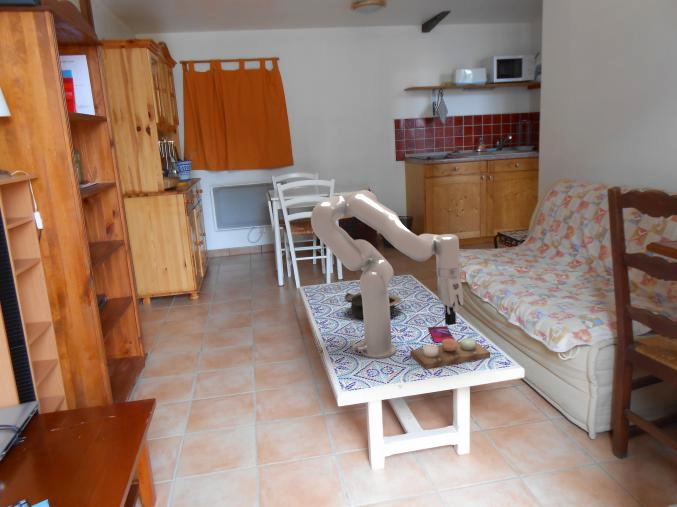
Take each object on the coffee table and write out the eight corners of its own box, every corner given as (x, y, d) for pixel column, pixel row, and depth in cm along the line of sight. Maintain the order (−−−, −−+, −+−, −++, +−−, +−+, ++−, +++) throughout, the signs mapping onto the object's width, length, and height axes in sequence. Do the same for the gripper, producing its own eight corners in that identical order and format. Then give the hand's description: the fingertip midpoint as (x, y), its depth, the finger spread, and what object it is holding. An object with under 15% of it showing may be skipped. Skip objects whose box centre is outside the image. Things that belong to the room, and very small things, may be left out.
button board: (424, 369, 166) (424, 363, 165) (410, 355, 177) (410, 350, 177) (490, 357, 172) (490, 351, 171) (472, 344, 183) (472, 339, 182)
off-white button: (427, 358, 169) (427, 351, 169) (421, 352, 174) (420, 346, 173) (440, 355, 170) (440, 349, 170) (434, 350, 175) (434, 343, 175)
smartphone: (433, 342, 187) (427, 327, 201) (434, 344, 187) (427, 329, 201) (455, 341, 186) (447, 325, 201) (455, 343, 186) (447, 328, 201)
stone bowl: (338, 321, 215) (337, 300, 214) (355, 306, 239) (354, 287, 237) (395, 323, 207) (394, 301, 206) (407, 308, 230) (406, 288, 229)
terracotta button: (446, 352, 171) (446, 345, 170) (439, 346, 175) (439, 340, 175) (459, 349, 172) (459, 342, 171) (452, 344, 177) (452, 337, 176)
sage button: (465, 351, 173) (464, 344, 172) (457, 346, 177) (457, 339, 177) (478, 348, 174) (478, 342, 173) (470, 343, 179) (470, 337, 178)
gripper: (469, 275, 162) (471, 329, 165) (448, 265, 176) (450, 315, 180) (448, 278, 160) (450, 333, 164) (428, 268, 174) (431, 319, 178)
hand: (450, 323), depth 172 cm, fingers closed
